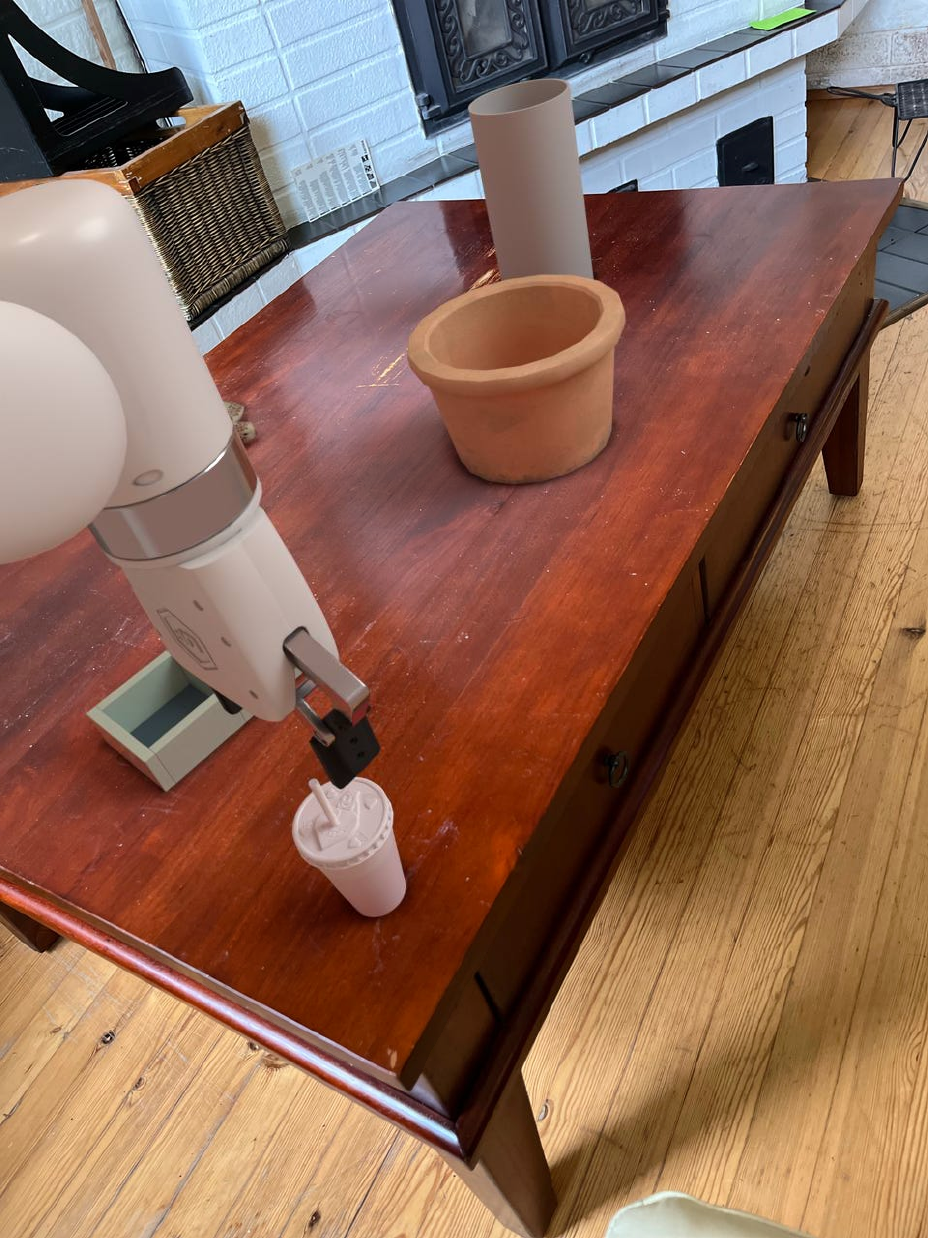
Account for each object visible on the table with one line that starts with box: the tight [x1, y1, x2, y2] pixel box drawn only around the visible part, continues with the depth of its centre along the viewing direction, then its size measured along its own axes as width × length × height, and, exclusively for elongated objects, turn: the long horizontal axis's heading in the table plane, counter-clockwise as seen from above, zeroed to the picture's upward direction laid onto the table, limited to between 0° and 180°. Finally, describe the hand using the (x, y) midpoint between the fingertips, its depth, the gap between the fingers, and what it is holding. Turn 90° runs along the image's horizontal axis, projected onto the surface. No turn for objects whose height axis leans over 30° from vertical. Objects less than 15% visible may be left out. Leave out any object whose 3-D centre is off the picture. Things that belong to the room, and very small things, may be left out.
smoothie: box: [291, 776, 407, 918], centre depth 59 cm, size 6×6×14 cm
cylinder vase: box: [467, 78, 594, 281], centre depth 119 cm, size 12×12×25 cm
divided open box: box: [85, 649, 303, 793], centre depth 79 cm, size 18×10×5 cm, turn 138°
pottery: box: [406, 275, 627, 485], centre depth 95 cm, size 22×22×14 cm
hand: (300, 731), depth 52 cm, fingers open, 9 cm apart
